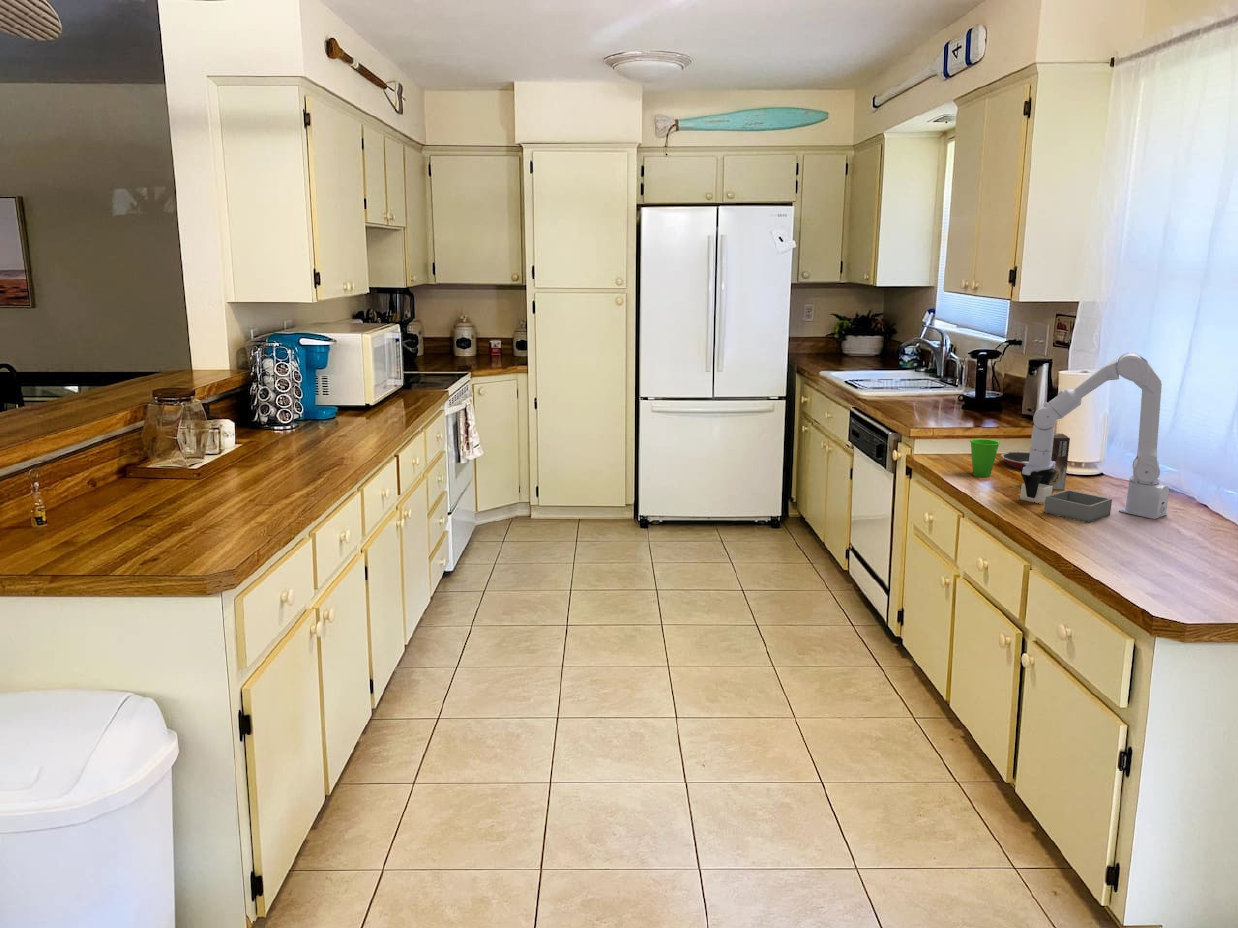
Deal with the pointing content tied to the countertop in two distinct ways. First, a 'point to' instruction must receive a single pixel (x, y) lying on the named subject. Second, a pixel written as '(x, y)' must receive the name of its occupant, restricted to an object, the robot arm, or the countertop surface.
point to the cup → (983, 456)
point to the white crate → (1040, 495)
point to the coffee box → (1060, 460)
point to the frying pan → (1016, 459)
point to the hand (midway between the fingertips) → (1035, 495)
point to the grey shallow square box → (1078, 505)
